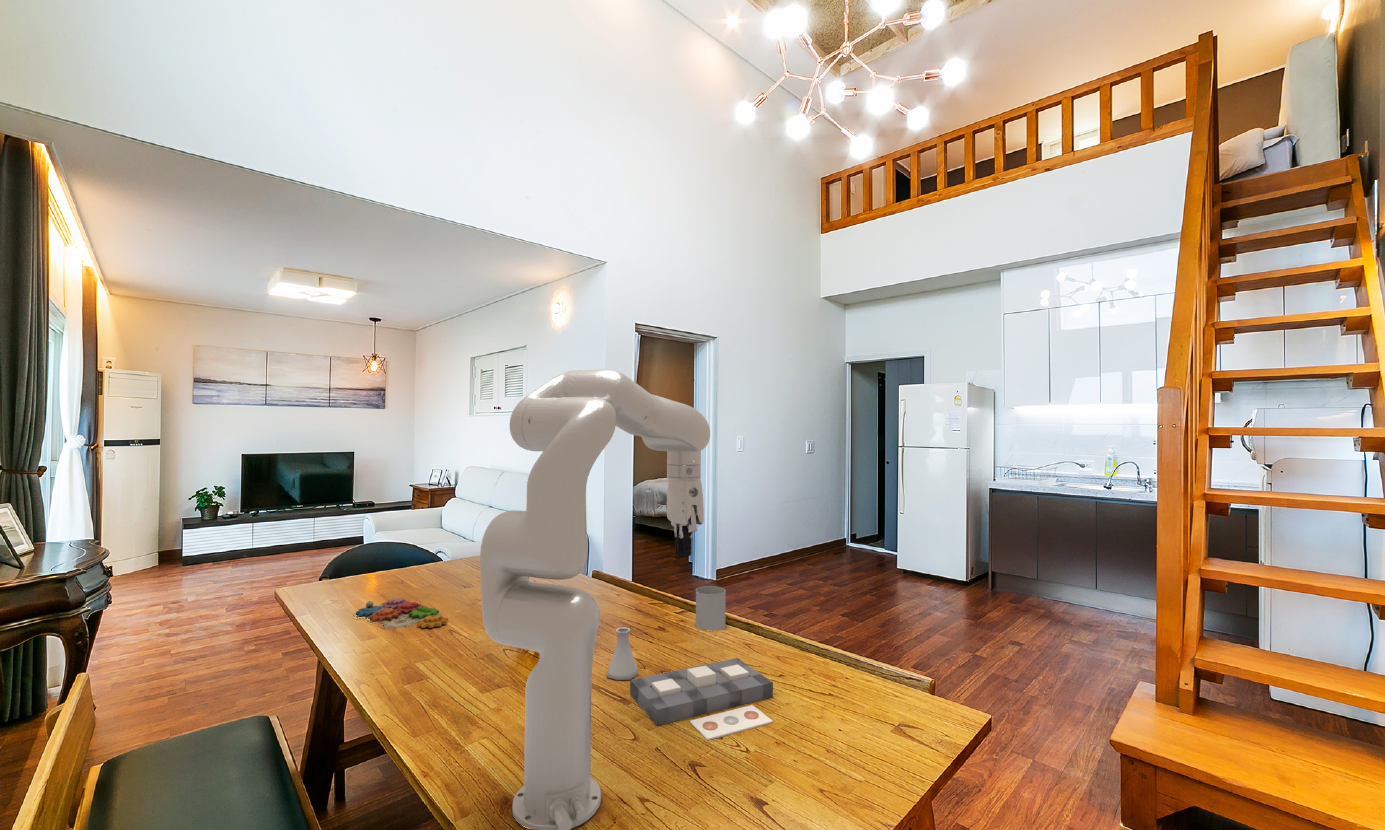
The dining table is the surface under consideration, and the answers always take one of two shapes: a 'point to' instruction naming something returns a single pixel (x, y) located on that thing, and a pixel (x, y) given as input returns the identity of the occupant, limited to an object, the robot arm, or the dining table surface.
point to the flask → (622, 658)
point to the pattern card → (730, 722)
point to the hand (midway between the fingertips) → (683, 555)
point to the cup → (710, 608)
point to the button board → (699, 693)
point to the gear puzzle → (401, 614)
